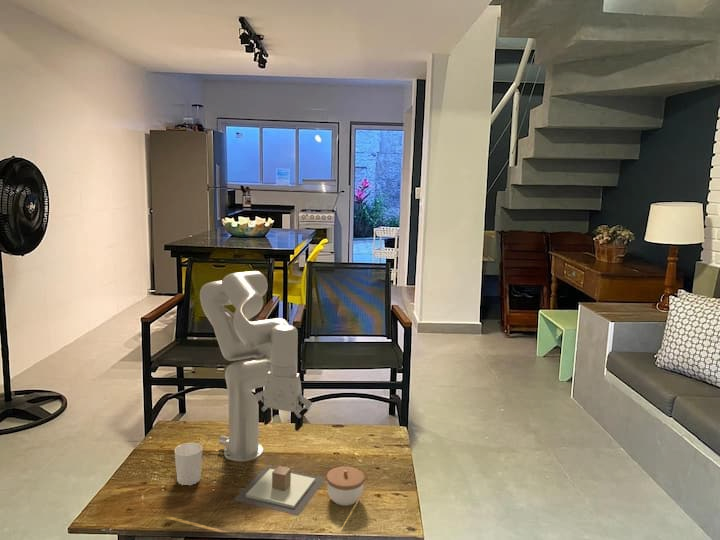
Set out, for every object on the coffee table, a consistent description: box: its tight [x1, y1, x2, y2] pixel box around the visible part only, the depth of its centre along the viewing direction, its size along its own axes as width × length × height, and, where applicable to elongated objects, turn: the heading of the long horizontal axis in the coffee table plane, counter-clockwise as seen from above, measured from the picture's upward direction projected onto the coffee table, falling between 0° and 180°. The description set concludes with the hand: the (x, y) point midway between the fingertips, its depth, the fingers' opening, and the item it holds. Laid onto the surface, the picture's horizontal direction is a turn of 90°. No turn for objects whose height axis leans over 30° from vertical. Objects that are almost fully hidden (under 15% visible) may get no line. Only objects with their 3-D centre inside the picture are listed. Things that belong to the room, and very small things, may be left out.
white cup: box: [174, 442, 203, 486], centre depth 168 cm, size 8×8×10 cm
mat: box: [233, 465, 327, 517], centre depth 166 cm, size 20×20×1 cm
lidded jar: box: [326, 465, 365, 507], centre depth 161 cm, size 11×11×9 cm
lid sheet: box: [246, 465, 315, 508], centre depth 165 cm, size 15×15×6 cm
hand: (282, 425), depth 162 cm, fingers open, 9 cm apart
